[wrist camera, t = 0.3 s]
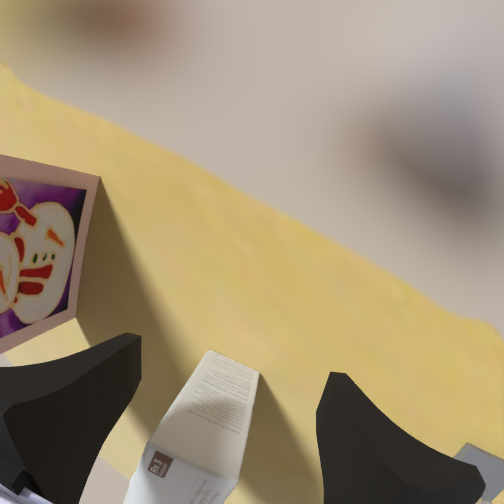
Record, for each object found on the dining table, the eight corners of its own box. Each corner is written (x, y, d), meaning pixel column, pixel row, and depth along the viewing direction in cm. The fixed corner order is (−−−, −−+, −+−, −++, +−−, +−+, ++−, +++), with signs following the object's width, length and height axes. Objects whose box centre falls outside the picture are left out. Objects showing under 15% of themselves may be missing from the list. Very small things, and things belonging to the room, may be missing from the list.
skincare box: (230, 427, 23) (199, 545, 11) (178, 404, 23) (118, 511, 11) (263, 367, 22) (248, 488, 10) (205, 342, 22) (143, 445, 10)
